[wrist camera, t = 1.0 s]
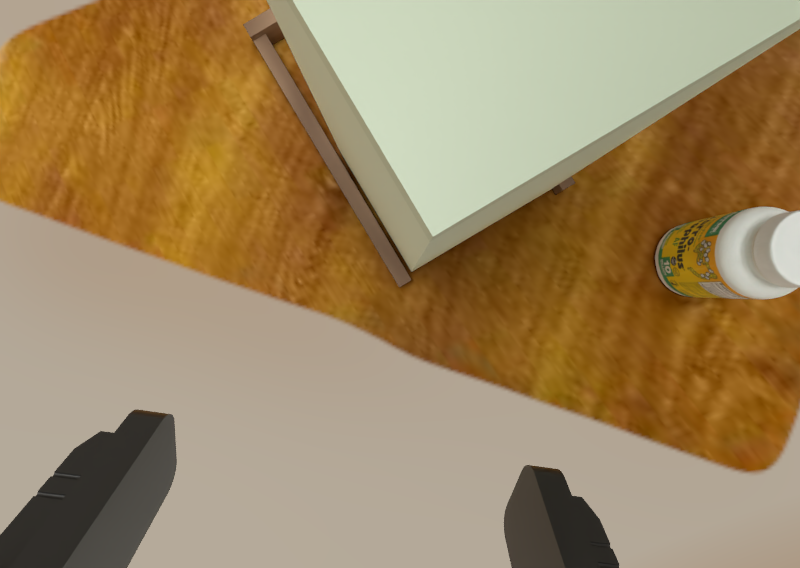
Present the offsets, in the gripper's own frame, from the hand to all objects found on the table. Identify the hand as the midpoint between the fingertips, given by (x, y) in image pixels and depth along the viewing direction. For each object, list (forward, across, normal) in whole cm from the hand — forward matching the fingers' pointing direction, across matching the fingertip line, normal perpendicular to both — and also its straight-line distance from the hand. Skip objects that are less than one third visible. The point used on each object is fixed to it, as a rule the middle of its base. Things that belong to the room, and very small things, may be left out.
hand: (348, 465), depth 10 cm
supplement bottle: (+23, -22, 0) cm, 32 cm away
